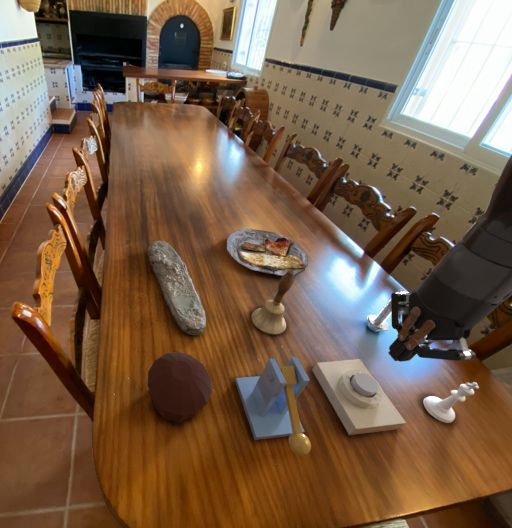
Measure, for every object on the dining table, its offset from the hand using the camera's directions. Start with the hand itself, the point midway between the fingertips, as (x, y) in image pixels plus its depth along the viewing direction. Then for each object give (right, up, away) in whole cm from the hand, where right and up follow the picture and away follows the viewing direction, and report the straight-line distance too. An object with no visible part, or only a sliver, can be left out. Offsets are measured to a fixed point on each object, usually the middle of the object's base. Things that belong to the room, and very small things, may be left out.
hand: (396, 357), depth 49 cm
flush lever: (-18, -8, 0) cm, 20 cm away
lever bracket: (-19, -12, +7) cm, 23 cm away
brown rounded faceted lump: (-36, -10, +7) cm, 38 cm away
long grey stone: (-36, +10, +31) cm, 48 cm away
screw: (+13, 0, +24) cm, 28 cm away
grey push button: (-1, -8, +7) cm, 10 cm away
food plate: (-6, +18, +45) cm, 49 cm away
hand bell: (-13, +1, +24) cm, 27 cm away
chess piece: (+15, -13, +9) cm, 22 cm away
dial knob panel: (-1, -11, +9) cm, 15 cm away
